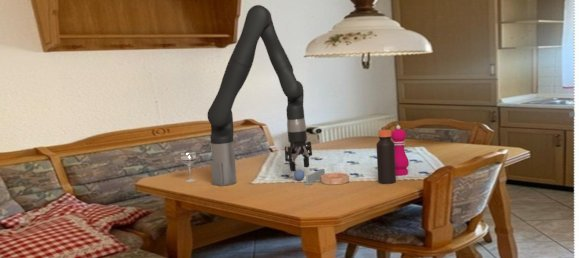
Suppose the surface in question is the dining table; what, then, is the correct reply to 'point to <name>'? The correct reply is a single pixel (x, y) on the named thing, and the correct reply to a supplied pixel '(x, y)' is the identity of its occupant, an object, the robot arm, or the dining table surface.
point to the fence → (314, 177)
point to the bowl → (334, 178)
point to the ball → (299, 174)
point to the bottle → (386, 158)
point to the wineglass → (188, 161)
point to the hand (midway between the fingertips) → (300, 169)
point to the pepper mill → (400, 151)
